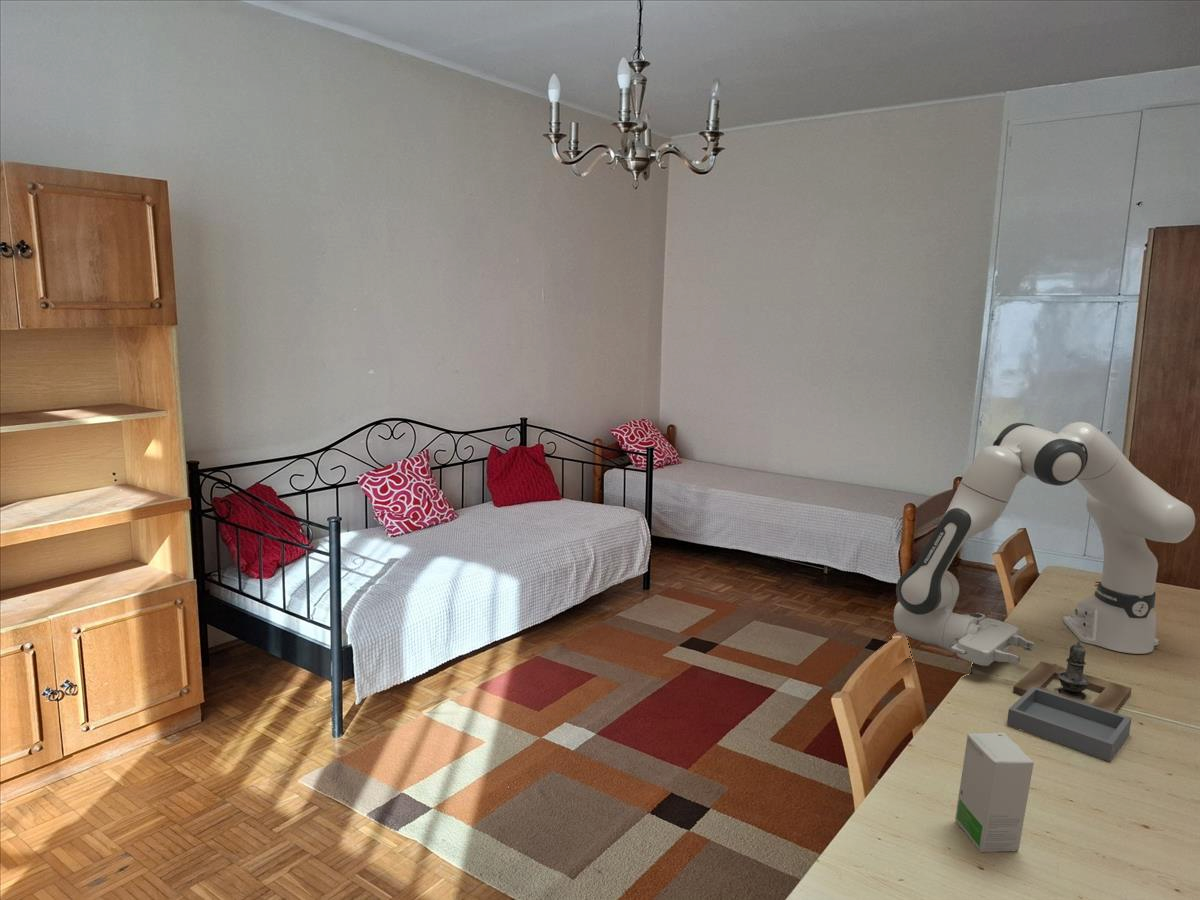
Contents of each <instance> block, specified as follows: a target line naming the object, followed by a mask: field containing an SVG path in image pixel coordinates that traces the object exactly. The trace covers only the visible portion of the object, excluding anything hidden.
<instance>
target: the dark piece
mask: <svg viewBox="0 0 1200 900" xmlns="http://www.w3.org/2000/svg"><path fill="white" fill-rule="evenodd" d="M1086 653H1087V651H1086V648H1085V647H1084V646H1083V645H1082V644H1081V641H1078V642H1076V644H1072V645H1071V646H1070V648H1069V654H1068V658H1066V662H1067V664H1066V665H1067V667H1066V669H1067V670H1066V672H1062V673H1060V674H1059V675H1058V676H1059V678H1060V680H1059V683H1060V685H1061V687H1059V688H1058V689H1057V692H1058V693H1061V694H1065V695H1068V696H1071V697H1074V698H1077V699H1080V700H1083V701H1084V700H1086V698H1087V694H1085V693H1084V692H1083V691H1085V690H1087V689H1086V688H1087V685H1088V684H1089V683H1090V681H1089V679H1087V678H1086V677H1084V675H1083V674H1084V669H1085V668H1084V667H1085V666H1086V665H1087V662H1085V658H1086Z"/></svg>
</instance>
